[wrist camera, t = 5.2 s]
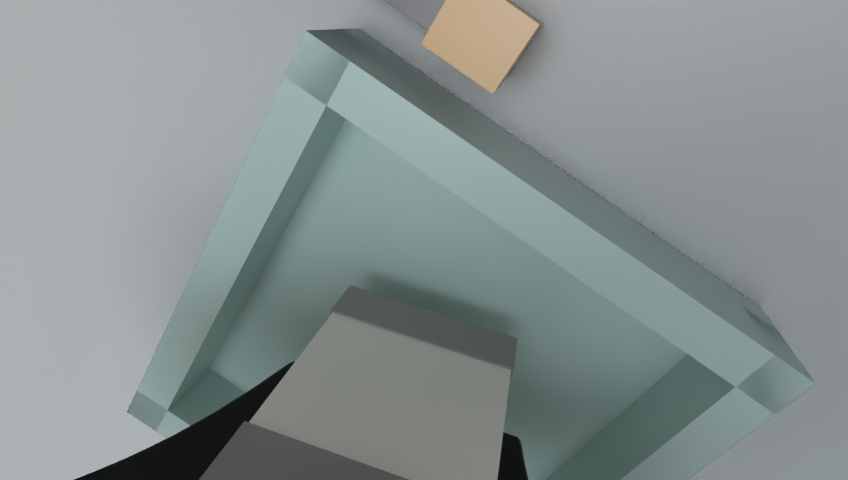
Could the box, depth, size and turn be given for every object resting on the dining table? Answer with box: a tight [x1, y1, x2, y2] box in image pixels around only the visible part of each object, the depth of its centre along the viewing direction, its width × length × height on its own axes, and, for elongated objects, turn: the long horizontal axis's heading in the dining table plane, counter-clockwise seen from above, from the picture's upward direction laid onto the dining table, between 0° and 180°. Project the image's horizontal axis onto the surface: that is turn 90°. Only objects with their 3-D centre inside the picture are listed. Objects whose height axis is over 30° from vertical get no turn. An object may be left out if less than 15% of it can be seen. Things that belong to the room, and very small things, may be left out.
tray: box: [127, 29, 816, 480], centre depth 14 cm, size 12×12×3 cm
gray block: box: [199, 285, 518, 480], centre depth 11 cm, size 4×4×6 cm
